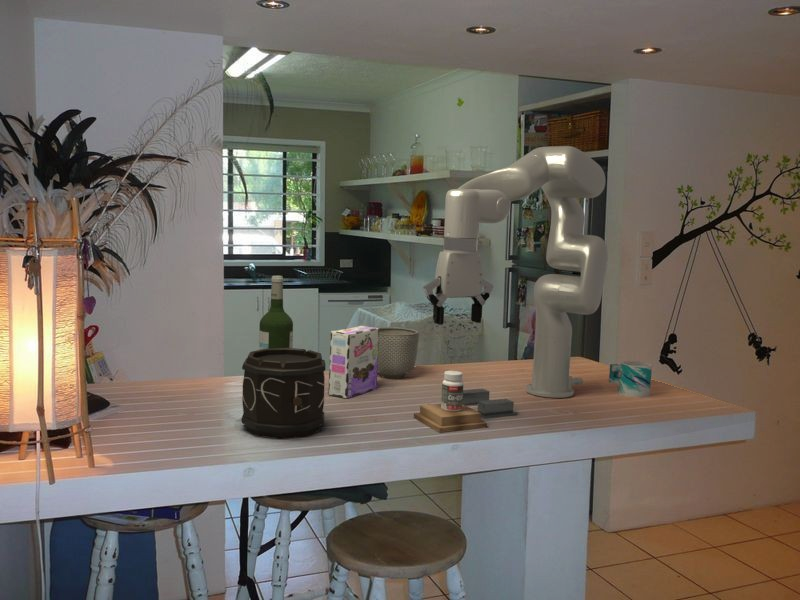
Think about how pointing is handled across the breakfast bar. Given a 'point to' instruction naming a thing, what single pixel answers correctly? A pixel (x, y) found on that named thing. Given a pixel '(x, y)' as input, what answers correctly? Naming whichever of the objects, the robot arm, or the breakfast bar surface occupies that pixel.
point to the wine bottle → (276, 321)
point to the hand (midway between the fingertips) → (457, 322)
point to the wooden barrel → (283, 392)
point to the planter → (396, 351)
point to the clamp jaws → (488, 404)
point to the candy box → (353, 361)
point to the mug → (632, 378)
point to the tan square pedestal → (449, 418)
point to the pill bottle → (452, 391)
